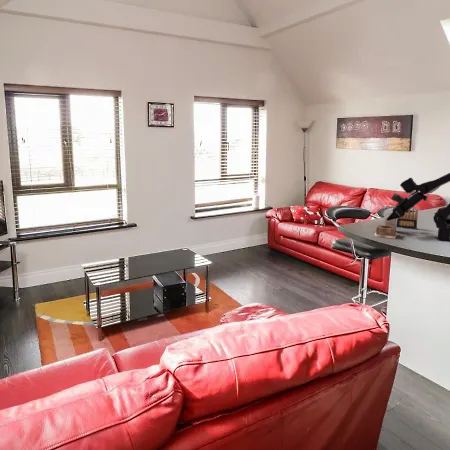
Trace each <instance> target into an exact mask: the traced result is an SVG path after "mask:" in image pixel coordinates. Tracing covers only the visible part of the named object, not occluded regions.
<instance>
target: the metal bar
mask: <svg viewBox="0 0 450 450" xmlns="http://www.w3.org/2000/svg"><path fill="white" fill-rule="evenodd" d="M392 213H393V209H392V210H389V209H387V210H386V211H385V217H384V225H388V226H396V224H397V218H396V219H393V220H389V221H387V218H388V217H389V216H390V215H391V214H392Z"/></svg>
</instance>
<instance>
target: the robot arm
mask: <svg viewBox="0 0 450 450" xmlns="http://www.w3.org/2000/svg"><path fill="white" fill-rule="evenodd" d="M448 183H450V172H448V173H447V174H444V175H442V176H440V177H438V178H436V179H433V180H430V181H426V182H423V183H421V184H417V183H416V181H414V179H413V177H408V178H407V179H405V180H404V181H402V182H401V183H400V185H399V186H400V187H401V189H402V190H403V191H404V192H405V193H406V194H409V195H408V196H406V197H403V196H402V195H400V194H398V193H393V195H392V196H391V198H390V200H391V201H394V202H397V204H395V206H394V207H393V208H392V211H393V213H392V214H391V215H390V216H389V217H388V218H387V221H389V220H393V219H396V220H397V218H401V217H403V216H404V215H405V212H407V213H408V211H409V209H411V210H412V209H413V207H414V208H415V206H416V205H418V204H419V203H420V202H421V201H424V202H428V198H429V196H428V195H429V194H432V193H434V192H436V191H437V190H439V188H440V187H441V186H443V185H446V184H448ZM427 194H428V195H427ZM433 222H434V223H435V227H436V228H437V236H434V238H435V239H436V240H438V241H442V242H443V241H444V242H445V241H446V242H450V202H449V203H448V205H446V206H442V207H439V208H438V209H437V211H436V212H435V213H434V216H433Z"/></svg>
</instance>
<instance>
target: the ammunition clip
mask: <svg viewBox="0 0 450 450" xmlns="http://www.w3.org/2000/svg"><path fill="white" fill-rule="evenodd" d="M418 210H419V209H418V207H416V209H415V206H414V207H412V208H411V209H409V210H408V211H407V212H405V215H404V216H403V217H401V218H396V228H401V227H402V228H403V229H410V228H411V229H413V230H417V227H418V218H419V213H418Z"/></svg>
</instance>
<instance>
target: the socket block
mask: <svg viewBox="0 0 450 450" xmlns="http://www.w3.org/2000/svg"><path fill="white" fill-rule="evenodd" d="M397 236H398V232H397V227H396V226H388V225H385V224H378V225H377V227H376V232H375V233H374V236H373V237H376V238H377V237H378V238H386V239H396V237H397Z"/></svg>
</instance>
